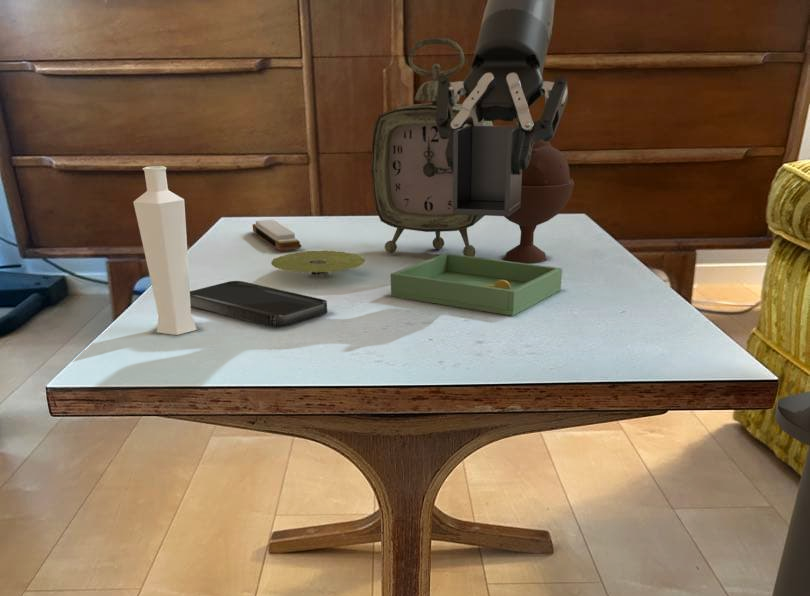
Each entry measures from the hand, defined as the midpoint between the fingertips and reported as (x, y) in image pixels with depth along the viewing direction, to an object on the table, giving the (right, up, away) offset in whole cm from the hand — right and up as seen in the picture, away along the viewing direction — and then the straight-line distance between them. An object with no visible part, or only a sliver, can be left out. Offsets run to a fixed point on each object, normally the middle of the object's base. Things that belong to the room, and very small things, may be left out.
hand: (485, 168), depth 90 cm
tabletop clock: (-4, 0, +28) cm, 28 cm away
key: (+1, -11, +6) cm, 12 cm away
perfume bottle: (-31, -17, -2) cm, 36 cm away
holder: (+1, -3, +4) cm, 5 cm away
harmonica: (-26, +4, +34) cm, 44 cm away
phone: (-24, -13, +4) cm, 28 cm away
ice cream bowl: (+8, -2, +24) cm, 26 cm away
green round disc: (-19, -6, +16) cm, 26 cm away
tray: (0, -10, +9) cm, 14 cm away
